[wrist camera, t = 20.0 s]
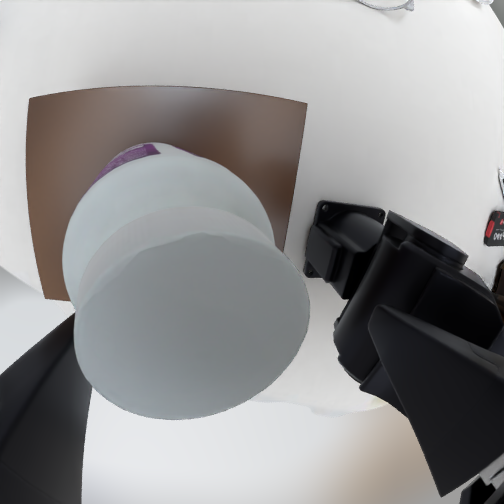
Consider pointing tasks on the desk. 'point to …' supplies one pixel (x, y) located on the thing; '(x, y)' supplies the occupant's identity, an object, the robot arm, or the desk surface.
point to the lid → (152, 131)
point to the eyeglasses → (407, 6)
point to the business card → (495, 230)
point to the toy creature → (485, 1)
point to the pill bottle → (179, 286)
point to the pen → (501, 179)
